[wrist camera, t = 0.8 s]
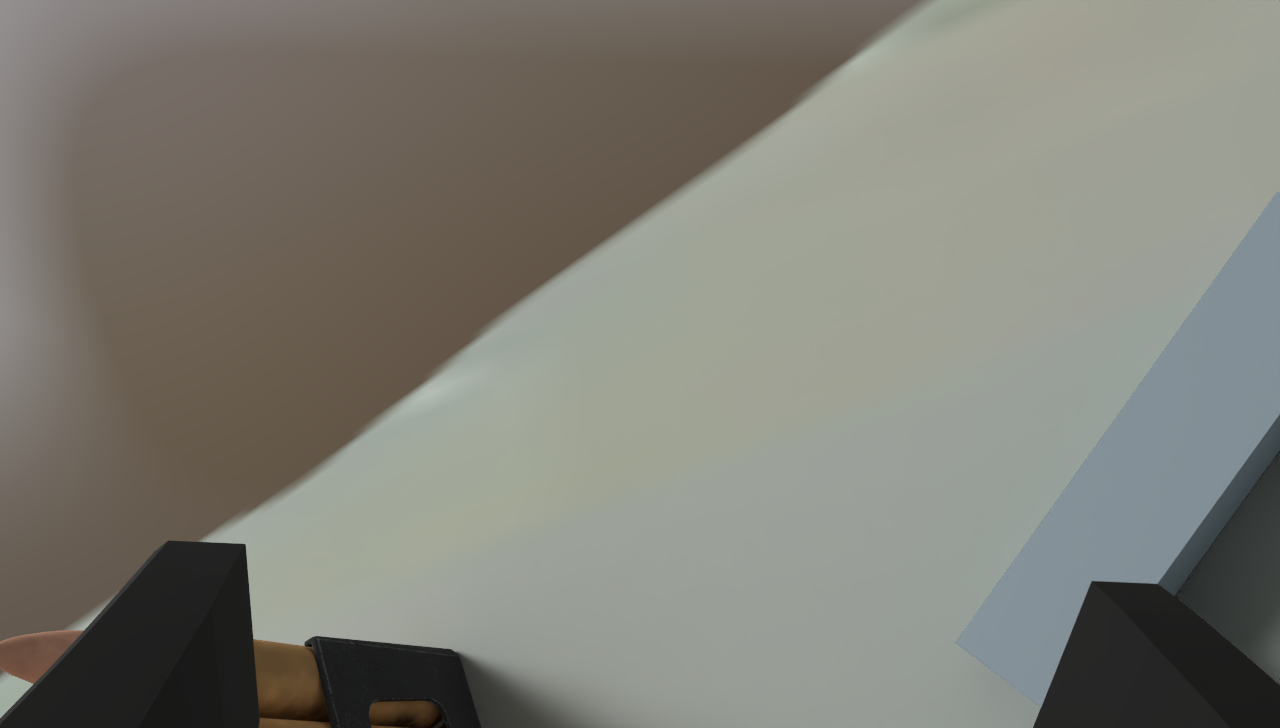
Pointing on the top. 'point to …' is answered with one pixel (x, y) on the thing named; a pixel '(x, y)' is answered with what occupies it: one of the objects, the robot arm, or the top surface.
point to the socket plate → (1152, 472)
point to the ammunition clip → (318, 681)
